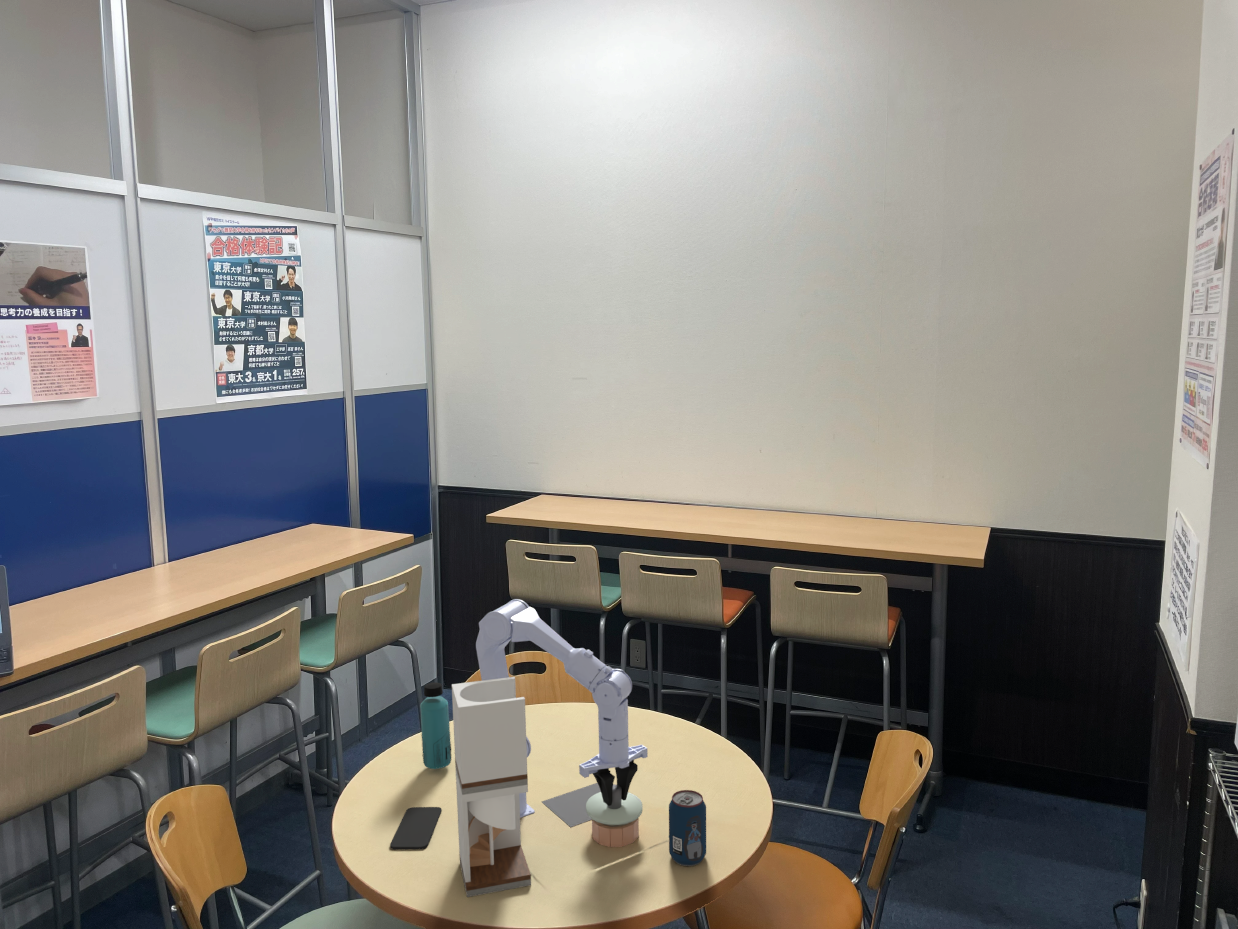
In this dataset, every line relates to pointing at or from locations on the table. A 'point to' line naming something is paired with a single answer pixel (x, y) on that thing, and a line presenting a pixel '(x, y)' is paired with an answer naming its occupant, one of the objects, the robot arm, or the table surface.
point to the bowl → (615, 833)
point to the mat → (573, 805)
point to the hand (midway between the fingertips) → (614, 800)
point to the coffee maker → (490, 784)
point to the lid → (614, 808)
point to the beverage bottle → (435, 728)
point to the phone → (416, 828)
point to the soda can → (687, 828)
